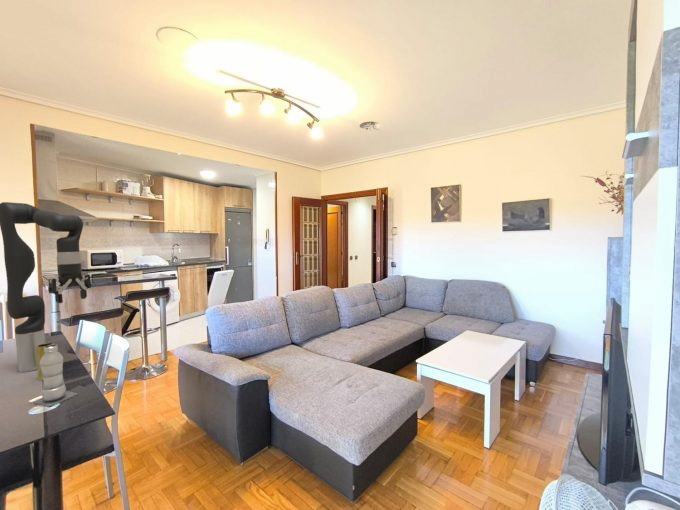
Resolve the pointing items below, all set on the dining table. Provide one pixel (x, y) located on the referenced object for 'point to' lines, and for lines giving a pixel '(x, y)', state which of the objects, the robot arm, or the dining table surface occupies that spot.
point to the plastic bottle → (52, 374)
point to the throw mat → (40, 401)
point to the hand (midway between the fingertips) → (71, 300)
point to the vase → (39, 355)
